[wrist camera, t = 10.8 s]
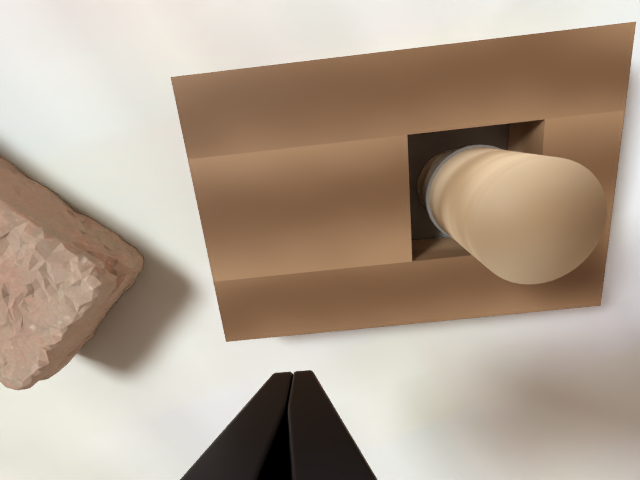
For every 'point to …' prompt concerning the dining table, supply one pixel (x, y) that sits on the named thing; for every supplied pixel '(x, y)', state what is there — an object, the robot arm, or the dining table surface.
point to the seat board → (385, 176)
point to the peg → (515, 209)
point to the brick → (52, 279)
